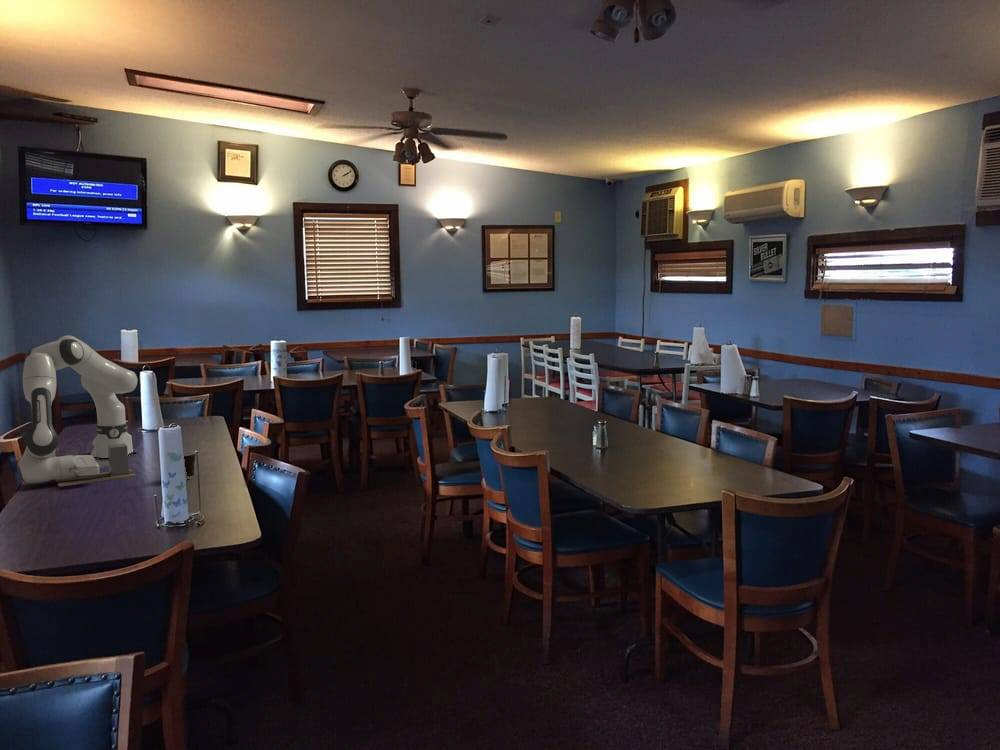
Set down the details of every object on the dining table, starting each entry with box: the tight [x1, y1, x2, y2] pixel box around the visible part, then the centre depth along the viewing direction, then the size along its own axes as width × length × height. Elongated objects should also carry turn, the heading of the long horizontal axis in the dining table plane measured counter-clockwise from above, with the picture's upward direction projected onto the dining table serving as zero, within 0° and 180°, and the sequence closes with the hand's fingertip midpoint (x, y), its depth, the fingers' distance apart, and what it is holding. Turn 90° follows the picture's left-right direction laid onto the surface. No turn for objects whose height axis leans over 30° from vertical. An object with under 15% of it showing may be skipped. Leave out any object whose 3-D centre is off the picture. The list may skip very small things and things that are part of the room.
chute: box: [55, 469, 137, 487], centre depth 292 cm, size 10×26×2 cm, turn 124°
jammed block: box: [108, 443, 130, 477], centre depth 296 cm, size 6×6×12 cm
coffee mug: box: [183, 450, 197, 477], centre depth 299 cm, size 12×9×10 cm
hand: (109, 462), depth 294 cm, fingers closed, pressing on jammed block
